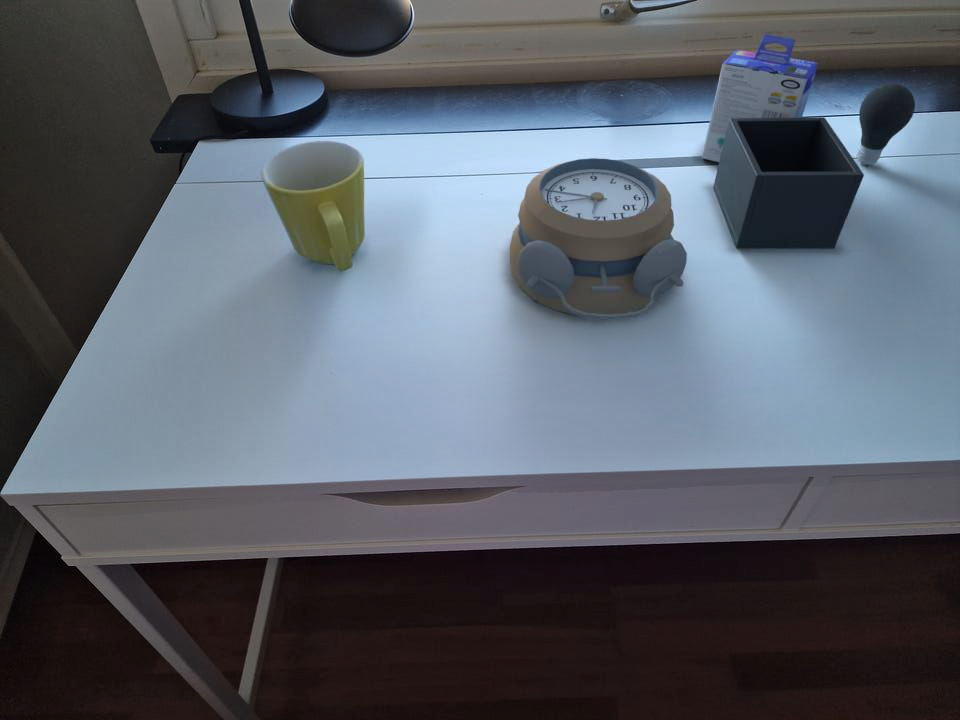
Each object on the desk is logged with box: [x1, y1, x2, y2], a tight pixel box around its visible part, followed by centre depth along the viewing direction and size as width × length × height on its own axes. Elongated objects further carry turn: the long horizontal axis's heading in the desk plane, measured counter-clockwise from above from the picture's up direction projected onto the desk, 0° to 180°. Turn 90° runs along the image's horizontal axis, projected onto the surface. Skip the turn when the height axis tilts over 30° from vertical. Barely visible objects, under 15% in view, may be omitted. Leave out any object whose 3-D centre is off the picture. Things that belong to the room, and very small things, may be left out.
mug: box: [260, 140, 366, 272], centre depth 71 cm, size 14×10×10 cm
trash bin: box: [712, 116, 865, 249], centre depth 75 cm, size 10×12×9 cm
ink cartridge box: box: [701, 33, 819, 163], centre depth 82 cm, size 10×6×14 cm, turn 58°
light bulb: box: [856, 83, 916, 167], centre depth 82 cm, size 6×6×10 cm
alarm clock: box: [509, 157, 688, 320], centre depth 68 cm, size 17×9×23 cm
